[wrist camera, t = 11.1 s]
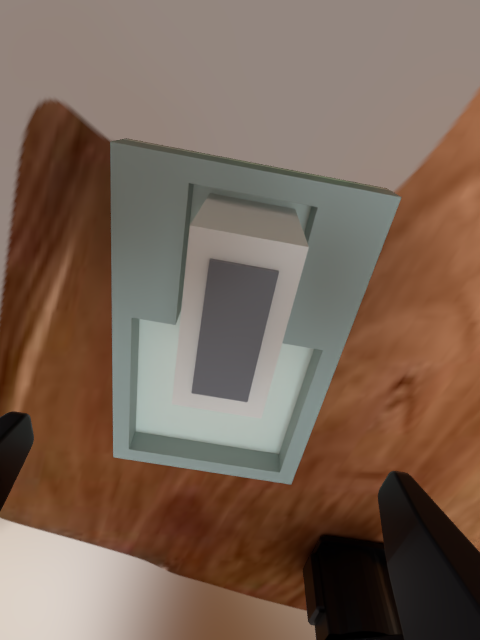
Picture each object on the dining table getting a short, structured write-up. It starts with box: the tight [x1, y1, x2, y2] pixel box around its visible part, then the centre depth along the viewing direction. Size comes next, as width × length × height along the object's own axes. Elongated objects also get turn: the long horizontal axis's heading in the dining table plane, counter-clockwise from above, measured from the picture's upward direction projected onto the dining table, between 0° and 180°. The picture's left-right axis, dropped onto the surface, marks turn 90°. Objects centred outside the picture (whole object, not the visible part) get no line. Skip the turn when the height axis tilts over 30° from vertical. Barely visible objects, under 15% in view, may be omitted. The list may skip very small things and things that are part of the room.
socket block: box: [172, 193, 309, 419], centre depth 16 cm, size 4×8×6 cm, turn 170°
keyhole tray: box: [110, 139, 401, 484], centre depth 20 cm, size 12×19×2 cm, turn 171°
